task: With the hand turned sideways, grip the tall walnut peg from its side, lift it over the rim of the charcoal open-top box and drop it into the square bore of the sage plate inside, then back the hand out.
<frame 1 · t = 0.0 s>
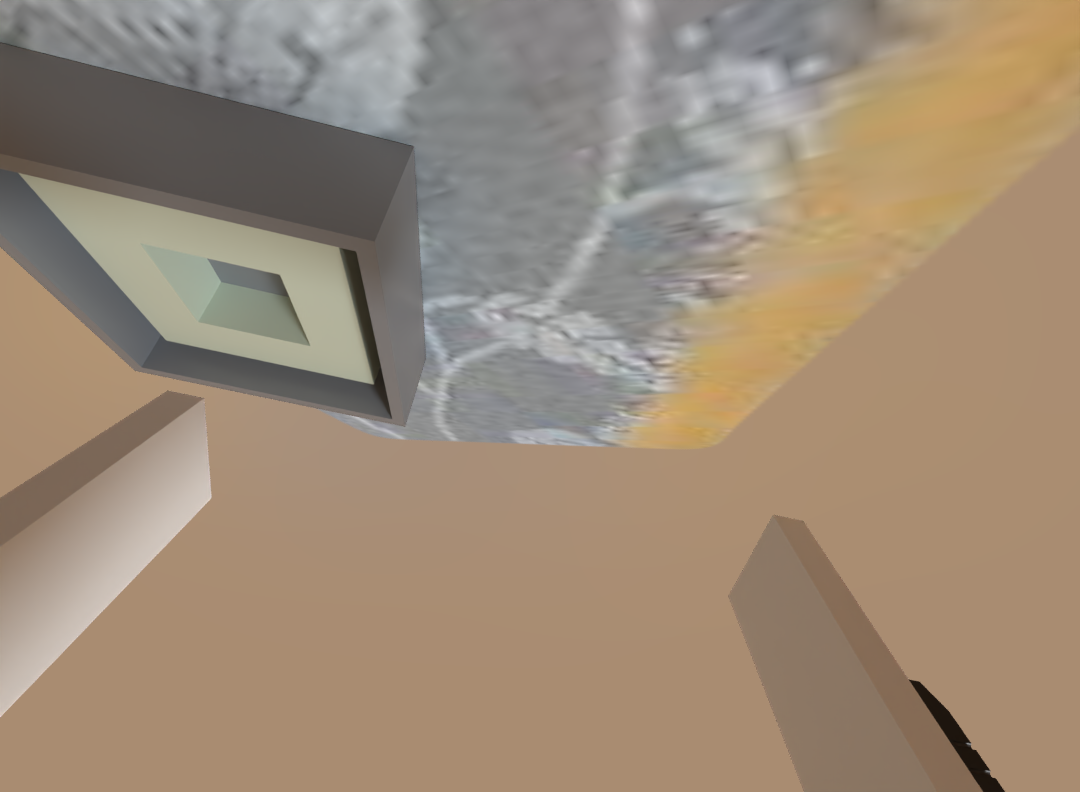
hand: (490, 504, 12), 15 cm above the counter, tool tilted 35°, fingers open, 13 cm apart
open box: (265, 244, 29), on the counter
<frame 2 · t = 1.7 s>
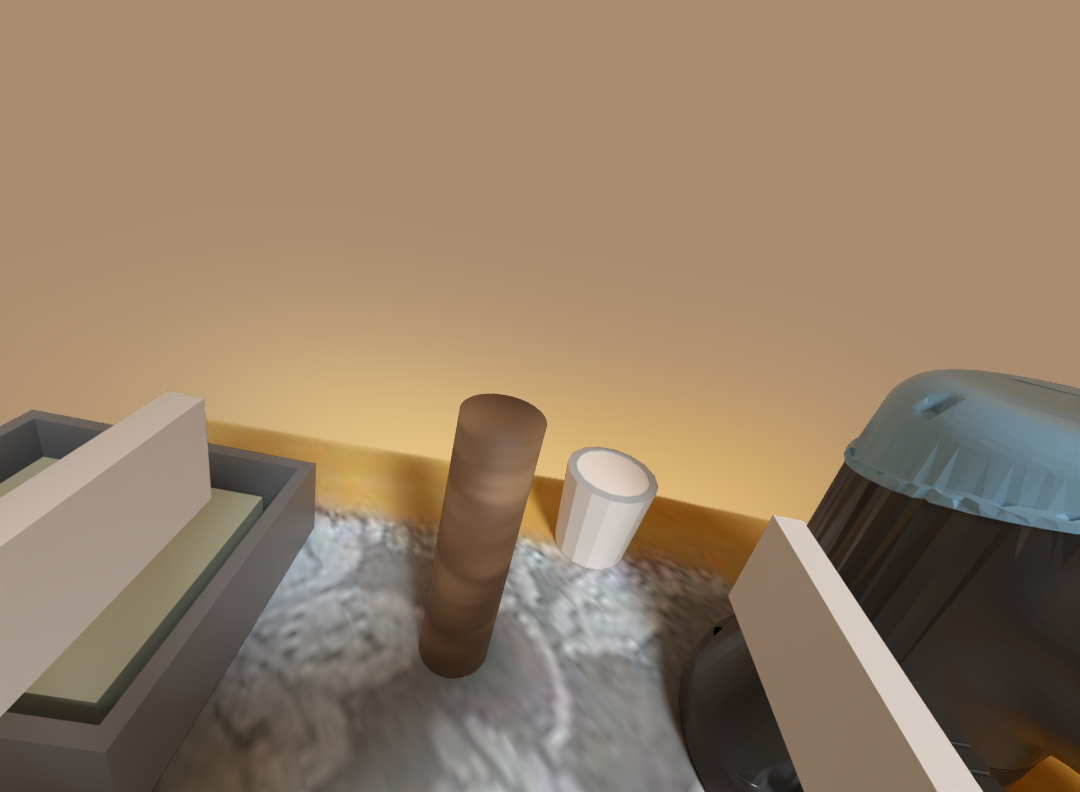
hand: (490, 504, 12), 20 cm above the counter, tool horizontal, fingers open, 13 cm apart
peg: (453, 645, 30), on the counter
open box: (78, 608, 27), on the counter
white cup: (588, 544, 41), on the counter
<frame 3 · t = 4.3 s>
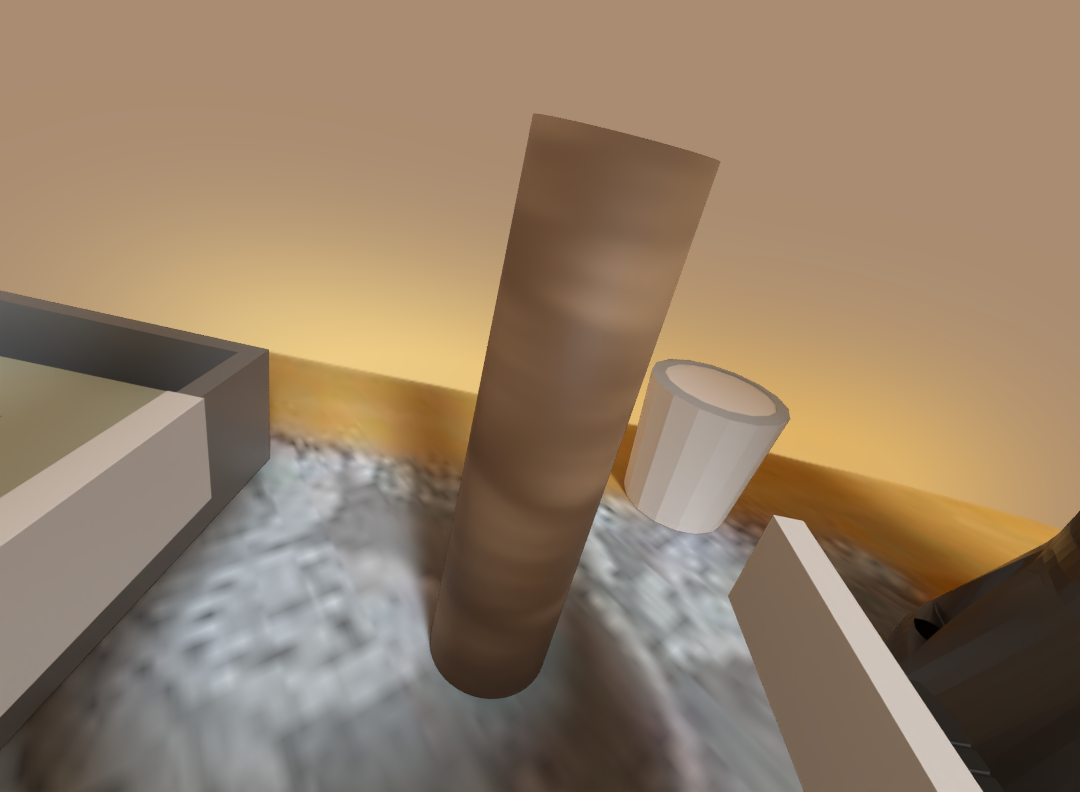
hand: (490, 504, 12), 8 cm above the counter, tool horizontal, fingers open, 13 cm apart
peg: (488, 641, 18), on the counter
white cup: (671, 500, 28), on the counter
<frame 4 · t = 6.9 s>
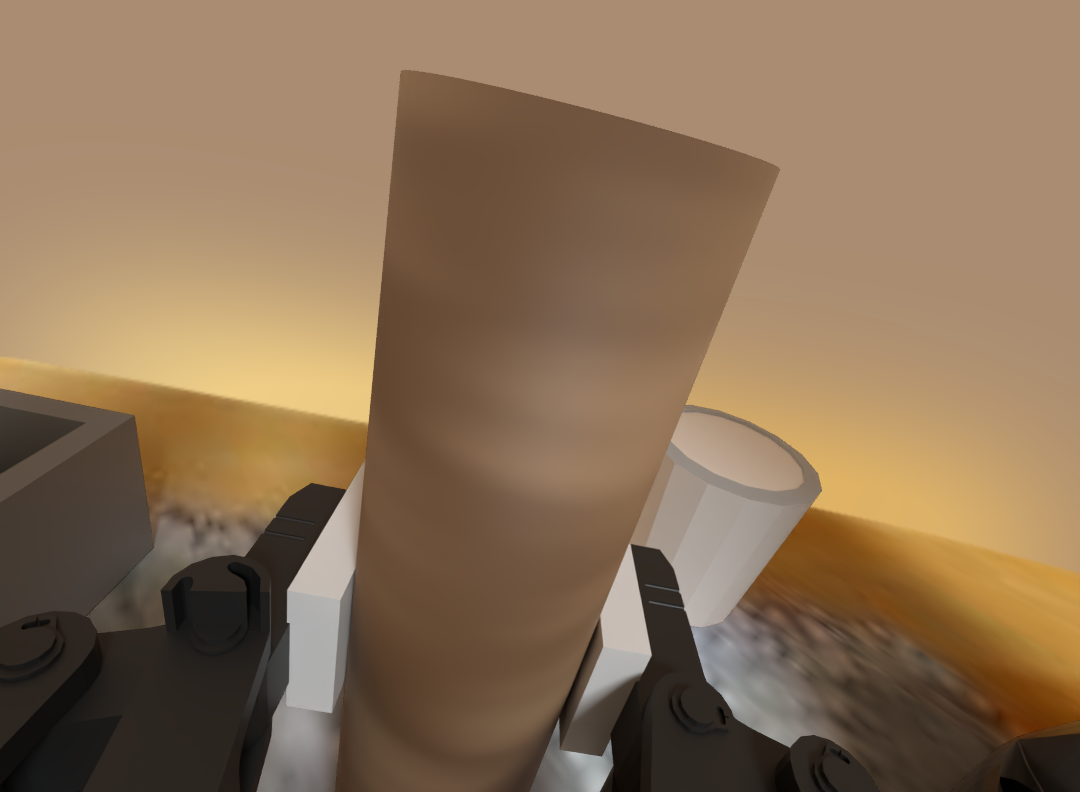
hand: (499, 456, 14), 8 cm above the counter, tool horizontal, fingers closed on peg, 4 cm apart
white cup: (671, 576, 23), on the counter
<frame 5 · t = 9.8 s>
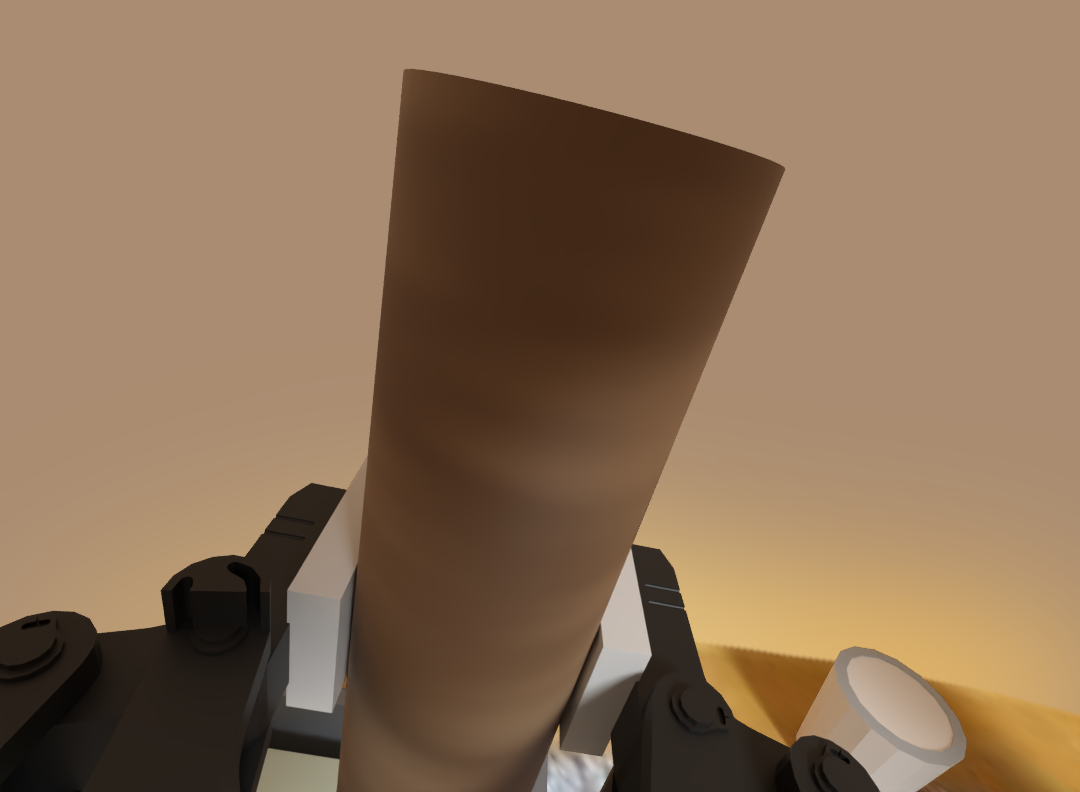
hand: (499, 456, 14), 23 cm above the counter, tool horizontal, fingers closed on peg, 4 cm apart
white cup: (839, 768, 32), on the counter
when the fingers open (11 cm above the counter, at t = 13.1 s): peg drops 1 cm, resting on open box.
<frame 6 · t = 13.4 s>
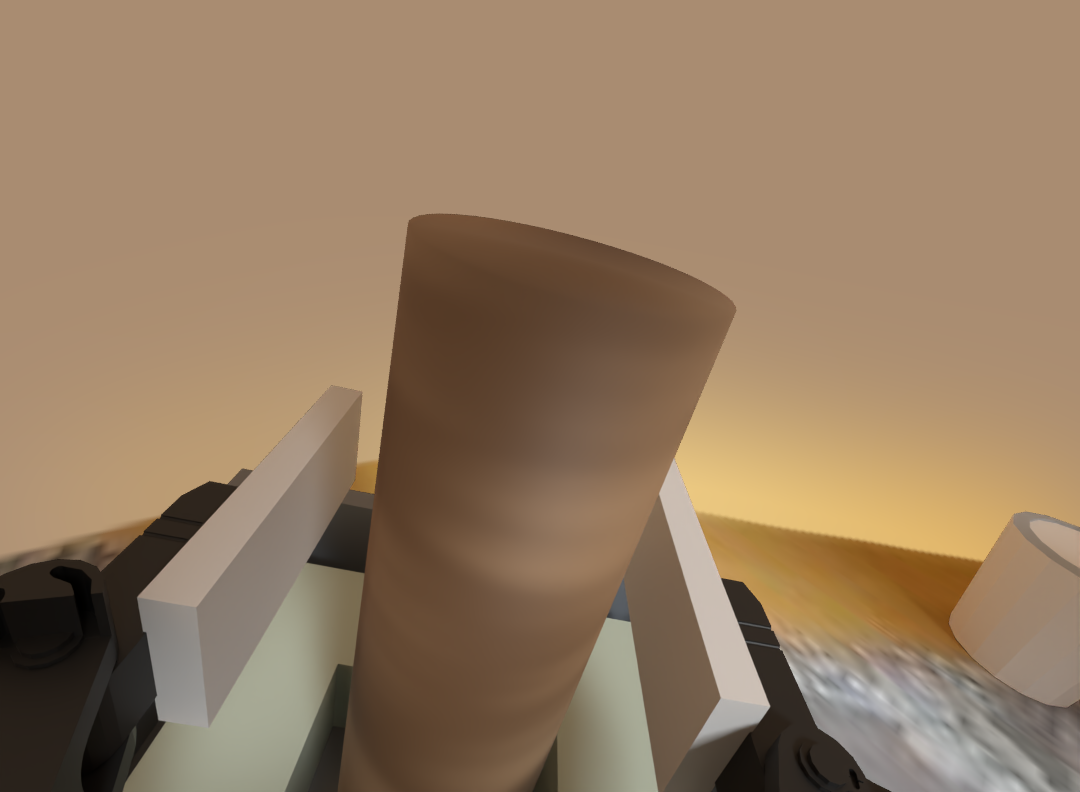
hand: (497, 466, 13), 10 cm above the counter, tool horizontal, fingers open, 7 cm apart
white cup: (1006, 657, 27), on the counter
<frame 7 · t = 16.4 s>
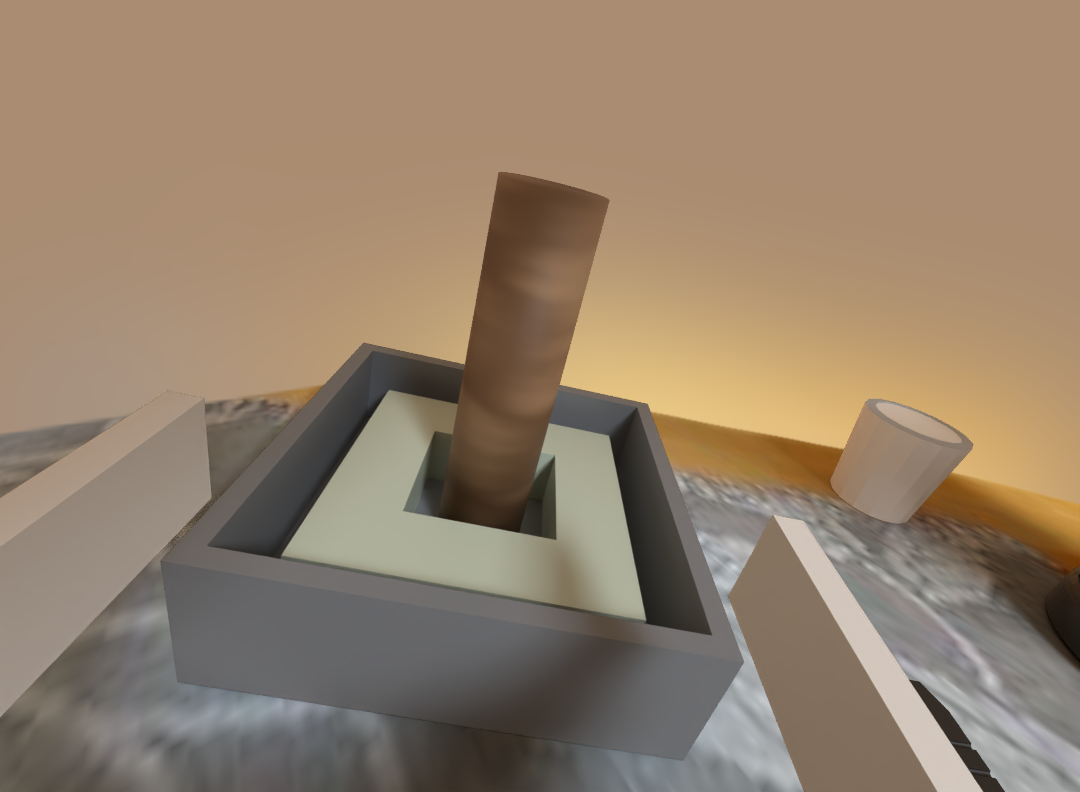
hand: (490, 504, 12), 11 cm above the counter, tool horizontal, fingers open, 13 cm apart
peg: (477, 529, 25), point 1 cm above the counter, touching open box
open box: (474, 543, 25), on the counter
white cup: (866, 500, 39), on the counter
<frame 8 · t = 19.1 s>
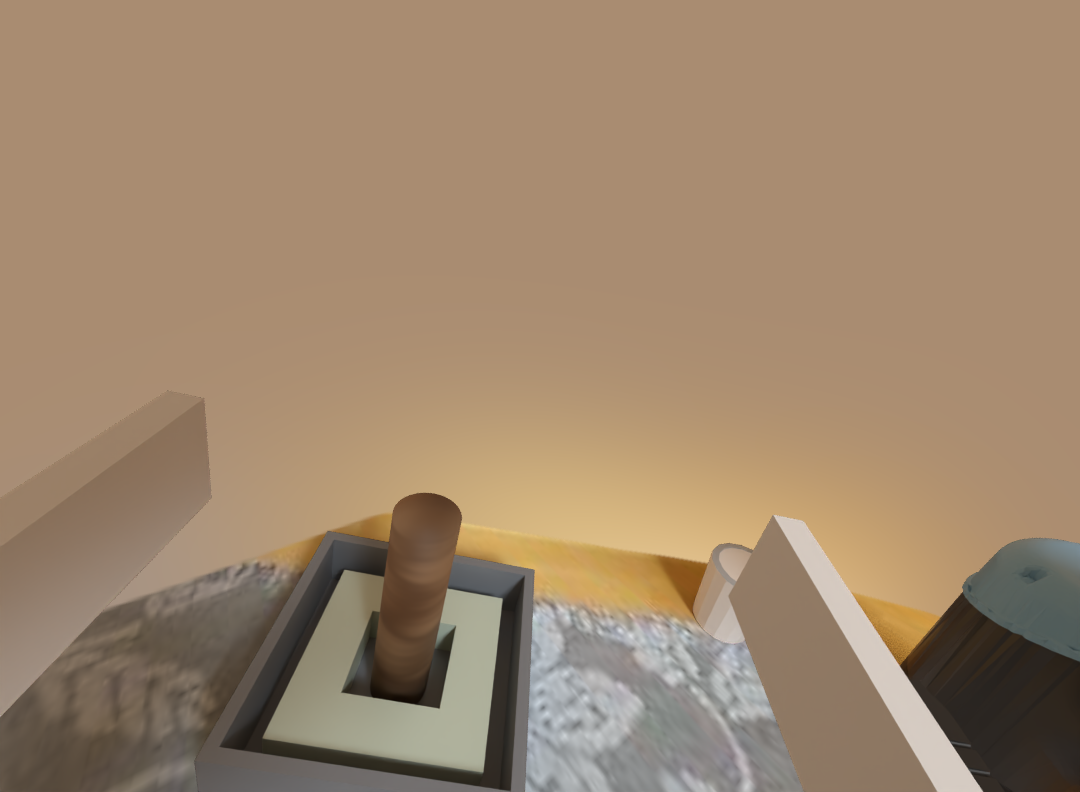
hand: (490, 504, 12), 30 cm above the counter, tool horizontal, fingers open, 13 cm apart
peg: (399, 683, 37), point 1 cm above the counter, touching open box
open box: (397, 691, 38), on the counter
white cup: (719, 620, 51), on the counter
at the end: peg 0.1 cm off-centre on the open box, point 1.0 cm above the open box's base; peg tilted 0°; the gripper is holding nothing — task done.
